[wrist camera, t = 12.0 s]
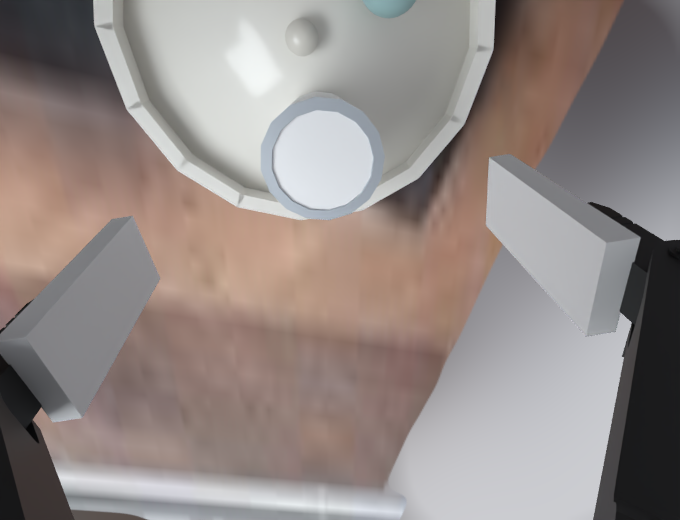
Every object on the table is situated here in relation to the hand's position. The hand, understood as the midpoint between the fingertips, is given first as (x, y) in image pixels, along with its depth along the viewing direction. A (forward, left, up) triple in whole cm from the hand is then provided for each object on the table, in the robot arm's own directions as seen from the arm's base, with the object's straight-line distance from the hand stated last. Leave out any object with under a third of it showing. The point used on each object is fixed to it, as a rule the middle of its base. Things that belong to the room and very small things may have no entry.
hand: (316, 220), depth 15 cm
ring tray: (0, +6, -16) cm, 17 cm away
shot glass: (0, 0, -15) cm, 15 cm away
